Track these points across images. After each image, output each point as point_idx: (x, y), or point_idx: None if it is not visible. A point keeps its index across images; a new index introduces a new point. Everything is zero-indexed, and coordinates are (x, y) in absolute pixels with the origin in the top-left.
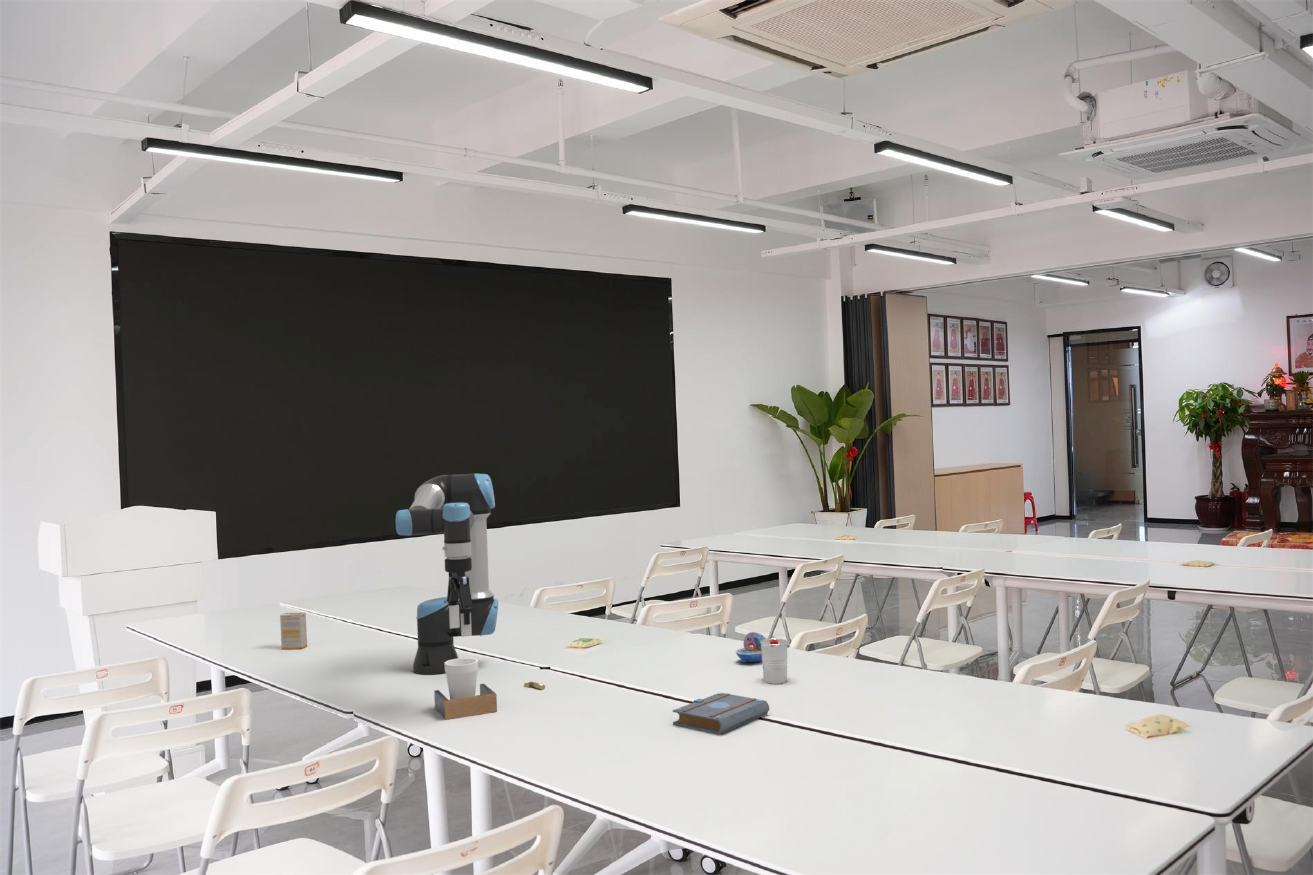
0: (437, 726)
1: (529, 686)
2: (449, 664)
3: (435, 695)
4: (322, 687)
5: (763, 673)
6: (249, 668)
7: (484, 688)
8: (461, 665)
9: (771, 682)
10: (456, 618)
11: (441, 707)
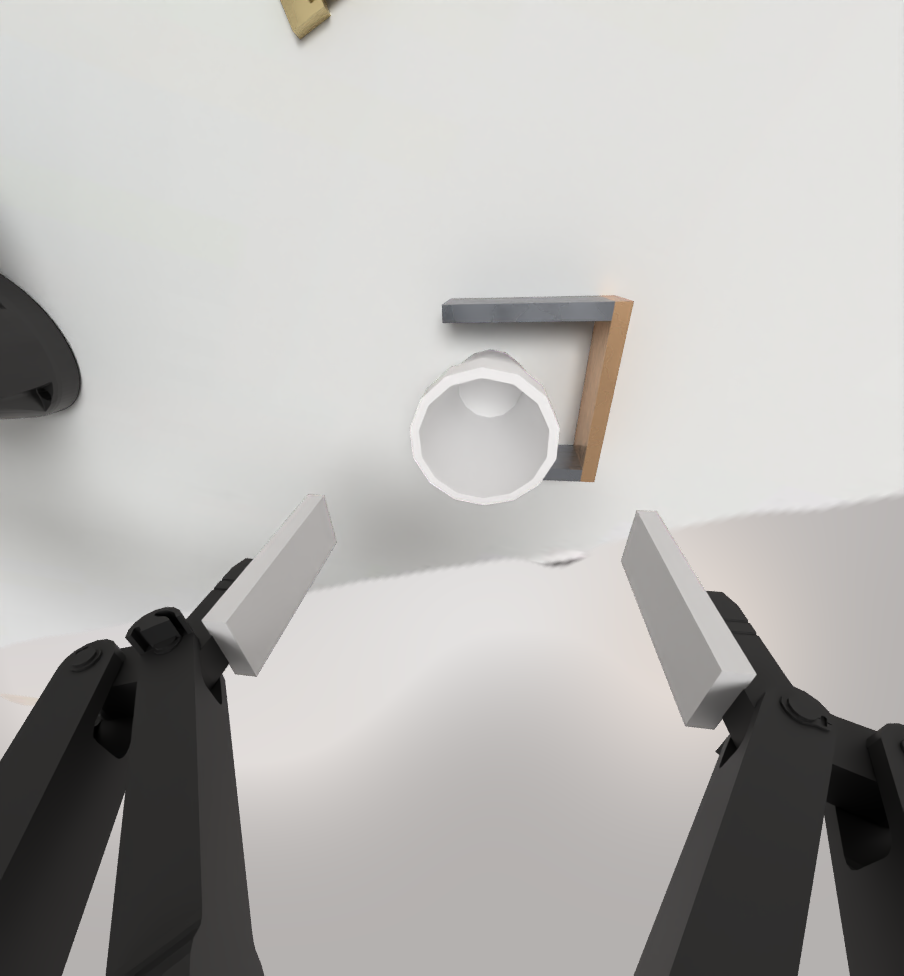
0: (627, 486)
1: (326, 7)
2: (441, 471)
3: None
4: (188, 586)
5: None
6: (42, 635)
7: (512, 321)
8: (553, 461)
9: None
10: (298, 552)
11: None
